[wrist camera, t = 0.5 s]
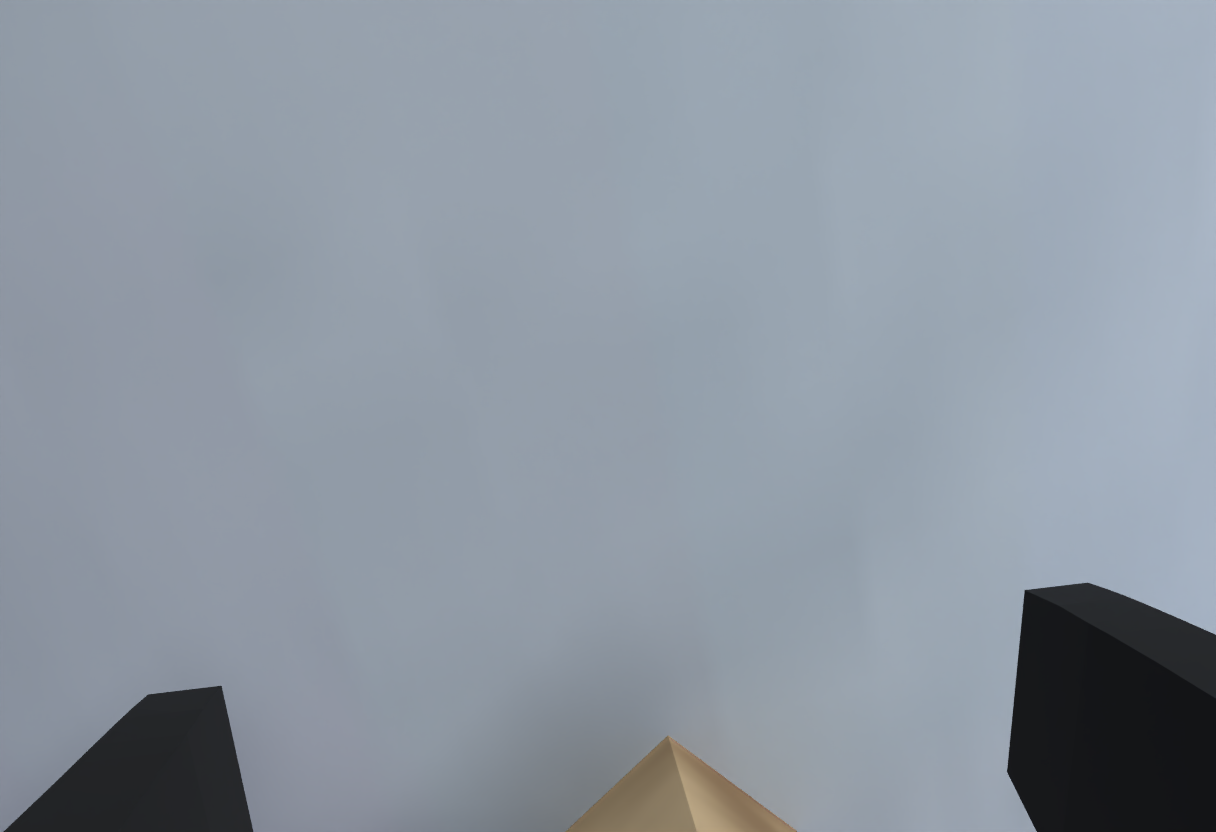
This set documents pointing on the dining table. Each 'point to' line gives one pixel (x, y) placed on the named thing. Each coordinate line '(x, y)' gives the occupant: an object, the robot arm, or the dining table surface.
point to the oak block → (677, 799)
